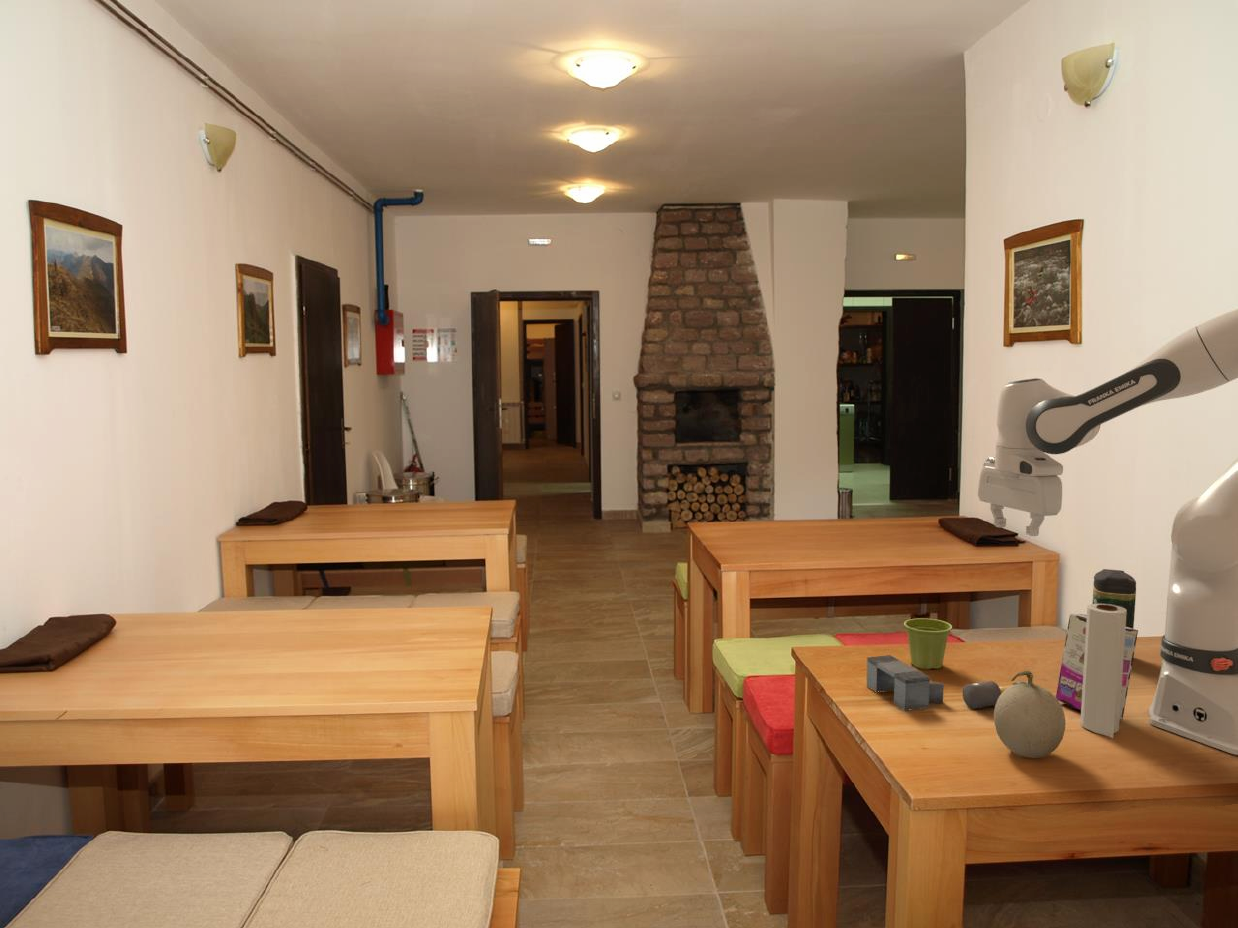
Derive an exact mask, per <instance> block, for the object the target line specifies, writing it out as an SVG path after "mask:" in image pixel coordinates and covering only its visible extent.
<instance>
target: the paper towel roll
mask: <svg viewBox="0 0 1238 928" xmlns="http://www.w3.org/2000/svg"><path fill="white" fill-rule="evenodd" d="M1126 613H1127V610H1126V609H1125V608H1123V607H1120V606H1115V605H1110V604H1092V603H1090V604H1088V605H1087V608H1086V615H1087V622H1086V638H1085V655H1084V672H1083V688H1082V705H1081V710H1080V725H1081V727H1083V728H1085V729H1086V730H1089V731H1091V732H1092V733H1095V734H1099V735H1103V736H1106V737H1108V738H1111V739H1114V733H1117V732H1119V731H1120V721H1121V720H1120V706H1121V690H1122V675H1123V659H1124V644H1125V629H1126Z"/></svg>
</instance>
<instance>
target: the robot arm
mask: <svg viewBox="0 0 1238 928" xmlns="http://www.w3.org/2000/svg"><path fill="white" fill-rule="evenodd" d="M1236 379H1238V308H1237V309H1234V310H1232V311H1229V312H1226V313H1223V314H1221V315H1218V316H1216V317H1213V318H1211V319H1208V320H1206V321H1205V322H1203V323H1200V324H1198V325H1197V326H1195V327H1192V328H1191V329H1189V330H1187V331H1185V332H1183V333H1181V334H1180V335H1178V336H1176V337H1175V338H1173V339H1172V340H1170V341H1169V342H1167V343H1165V344H1164V345H1163V346H1162V347H1160V348H1158V350H1156V351H1155V352H1154V353H1151V355H1149V356H1148V357H1147V358H1146V359H1144V360H1143V361H1141V362H1140V363H1139V364H1137V365H1136V366H1134V367H1133V368H1131V369H1130V370H1128V371H1126V372H1125V373H1123V374H1120V375H1119V376H1117V377H1114V378H1113V379H1110V380H1109V381H1108V380H1107V381H1106V382H1104V383H1102V384H1100V385H1098V386H1096V387H1093V388H1092V389H1089V390H1087V391H1085V392H1082V393H1080V394H1078V395H1071V394H1069V393H1067V392H1063V391H1061V390H1059V389H1057V388H1055V387H1054V386H1052V385H1050V384H1048V382H1046V381H1045V380H1044V379H1042V378H1028V379H1021V380H1020V379H1019V380H1014V381H1010V382H1008V383H1006V384H1005V385H1004V386H1003V387H1002V389H1001V391H1000V394H999V398H998V404H997V417H996V418H997V419H996V427H997V430H998V433H997V434H998V436H997V440H996V442H995V454H994V455H995V457H994V456H990V457H988V458H987V459H986V460H985V461H984V462H983V465H982V467H983V468H982V469H981V470H980V475H979V479H978V480H979V481H978V488H977V496H978V499H979V501H980V502H982V503H983V502H984V503H988V504H990V511H991V514H992V516H993V525H994V527H996V528H1006V526H1007V517H1004V514H1003V510H1004V508H1009V509H1013V510H1018V511H1021V512H1025V513H1030V514H1029V516H1030V517H1029V518H1030V519H1031V522H1030V523H1029V525H1026V526H1025V529H1026V530H1025V535H1026V536H1029V537H1037V536H1039V534H1040V527H1041V525H1042V524H1043V522H1044V520H1045V517H1048V516H1049V517H1050V516H1057V515H1059V513H1060V512H1061V510H1062V504H1063V482H1062V479H1061V477H1059V476H1061V475H1062V474H1063V473H1064V472H1063V471H1064V465H1063V464H1062V463H1061V462H1059V461H1057V460H1056V459H1054V458H1052V457H1051V455H1062V454H1065V453H1068V452H1069V451H1072V450H1073V449H1075V448H1078V447H1081V446H1084V445H1085V444H1087V443H1089V442H1090V441H1092V440H1093V439H1094V438H1095V437H1096V436H1097V435H1098V433H1099V431H1100V430H1101V429H1100V428H1101V425H1103V424H1105V423H1107V422H1110V421H1111V420H1113V419H1115V418H1118V417H1120V416H1122V415H1124V414H1127V413H1128V412H1131V411H1133V410H1135V409H1137V408H1139V407H1143V406H1146V405H1148V404H1152V403H1156V402H1160V401H1165V400H1166V401H1167V400H1172V399H1179V398H1184V397H1185V398H1186V397H1189V396H1193V395H1197V394H1201V393H1204V392H1206V391H1210V390H1212V389H1213V390H1214V389H1216V388H1218V387H1220V386H1223V385H1225V384H1227V383H1230V382H1232V381H1233V380H1234V381H1235V380H1236ZM1048 454H1049V455H1048ZM1171 528H1172V529H1171V535H1170V537H1171V538H1170V539H1171V551H1170V564H1169V575H1168V587H1167V599H1166V612H1165V626H1164V627H1165V629H1164V635H1163V636H1162V637H1161V642H1160V654H1159V655H1160V657H1161V658H1162V660H1161V666H1160V672H1159V676H1158V682H1157V686H1156V689H1155V693H1154V696H1153V697H1154V698H1153V699H1152V703H1151V705H1150V707H1149V708H1148V713H1149V715H1150V716H1149V724H1150V725H1152V726H1154V727H1157V728H1160V729H1163V730H1165V731H1168V732H1171V733H1174V734H1177V735H1179V736H1181V737H1184V738H1187V739H1189V740H1192V741H1196V742H1198V743H1201V744H1204V745H1206V746H1209V747H1212V748H1214V749H1218V750H1221V751H1223V752H1226V753H1229V754H1231V755H1235V756H1238V457H1237V458H1236V459H1235V460H1234V461H1233V462H1232V463H1231V464H1230V465H1229V467H1227V469H1226V470H1225V471H1223V473H1222V474H1221V475H1219V477H1218V478H1217V479H1216V480H1215V481H1214V482H1213V483H1212V484H1211V485H1210V486H1209V487H1208V488H1207V489H1206V491H1204V492H1203V493H1202V494H1201V495H1200V496H1199V497H1195V498H1193V499H1191V500H1189V501H1187V502H1186V503H1184V504H1183V505H1182V506H1181V507H1180V508H1179V509H1178V510H1177V512H1176V513H1175V515H1174V519H1173V523H1172V527H1171Z"/></svg>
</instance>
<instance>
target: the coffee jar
mask: <svg viewBox="0 0 1238 928" xmlns="http://www.w3.org/2000/svg"><path fill="white" fill-rule="evenodd" d="M1092 587H1093V589H1092V603H1091V604H1110V605H1115V606H1120V607H1123V608H1125V609H1126V610H1127V613H1126V627H1129V628H1132V629H1135V628H1134V625H1135V613H1136V612H1135V611H1136V597H1137V582H1136V580H1135V578H1134V577H1133V576H1131V574H1129V573H1127V572H1125V571H1124V570H1118V569H1109V568H1108V569H1107V568H1105V569H1104V568H1103V569H1102V570H1100V571H1098V572H1096V573H1095V574H1094V576H1093V586H1092Z"/></svg>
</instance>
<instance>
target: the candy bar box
mask: <svg viewBox="0 0 1238 928" xmlns="http://www.w3.org/2000/svg"><path fill="white" fill-rule="evenodd" d="M1068 619H1069V620H1068V624H1067V630H1066V634H1065V635H1066V637H1065V642H1064V643H1065V644H1064V647H1063V652H1062V653H1063V654H1062V659H1061V664H1060V665H1061V666H1060V672H1059V677H1058V684H1057V689H1056V695H1055V697H1056V698H1057V699H1058V701H1059V702H1060V703H1063V704H1066V705H1068V706H1070V707H1072V708H1075V709H1077V710H1079V711H1081V705H1082V688H1083V672H1084V655H1085V638H1086V622H1087V614H1082V613H1069V618H1068ZM1138 633H1139V630H1138V629H1135V628H1133V629H1132V628H1129V627H1126V629H1125V644H1124V659H1123V675H1122V690H1121V706H1120V721H1123V719H1124V716H1125V715H1124V714H1125V710H1126V709H1125V708H1126V701H1127V696H1128V690H1129V685H1130V679H1131V678H1130V677H1131V673H1132V667H1133V663H1134V657H1135V650H1136V644H1137V640H1138Z"/></svg>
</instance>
